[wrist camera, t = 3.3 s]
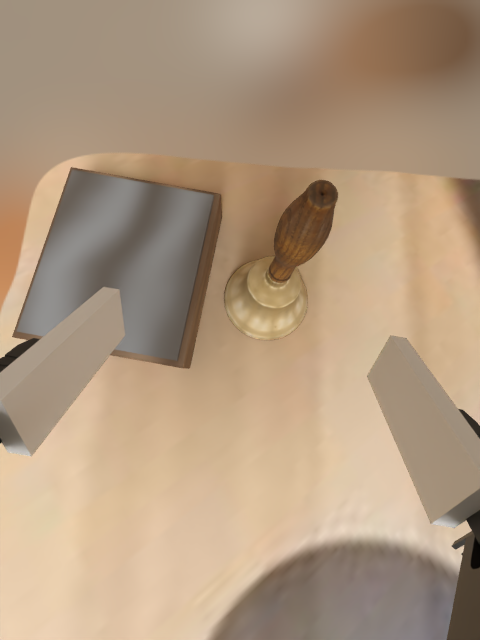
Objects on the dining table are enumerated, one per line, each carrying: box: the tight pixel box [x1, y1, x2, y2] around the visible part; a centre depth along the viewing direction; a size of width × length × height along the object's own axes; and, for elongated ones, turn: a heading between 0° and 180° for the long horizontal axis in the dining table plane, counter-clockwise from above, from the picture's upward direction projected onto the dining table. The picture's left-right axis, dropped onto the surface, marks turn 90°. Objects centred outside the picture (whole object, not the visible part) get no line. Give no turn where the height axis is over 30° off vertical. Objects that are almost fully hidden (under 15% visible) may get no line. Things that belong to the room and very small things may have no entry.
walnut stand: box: [12, 167, 222, 368], centre depth 24 cm, size 14×16×4 cm
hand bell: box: [224, 180, 338, 340], centre depth 18 cm, size 8×8×16 cm
